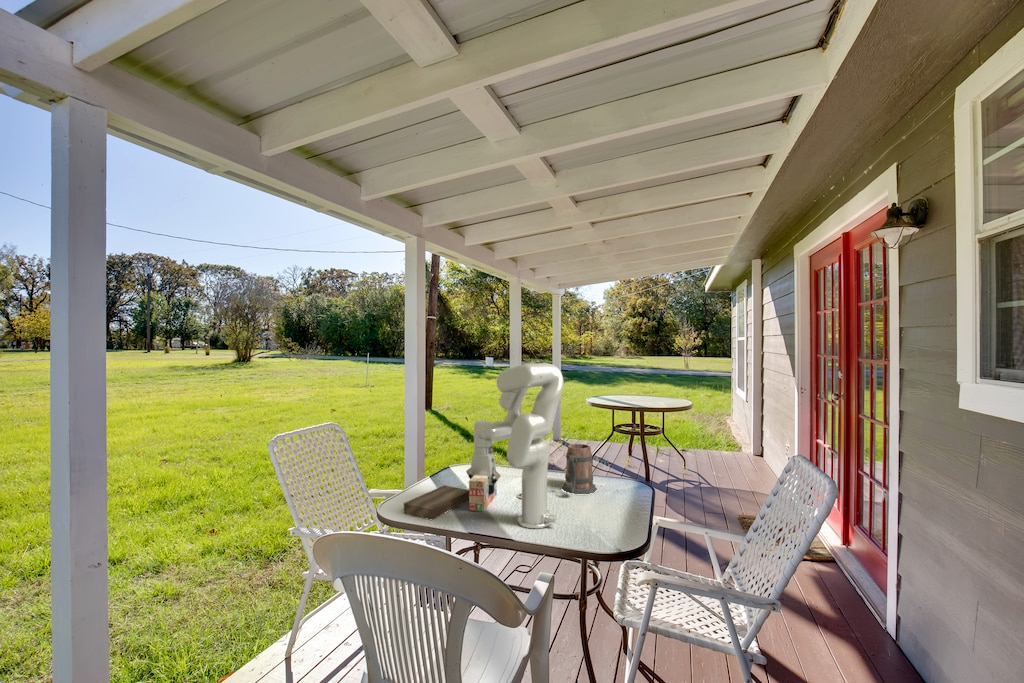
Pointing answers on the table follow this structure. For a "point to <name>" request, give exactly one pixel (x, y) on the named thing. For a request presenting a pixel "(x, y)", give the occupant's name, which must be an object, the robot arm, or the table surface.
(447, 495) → the plinth
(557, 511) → the table surface
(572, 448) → the tankard
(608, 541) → the table surface
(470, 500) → the stack of blocks
